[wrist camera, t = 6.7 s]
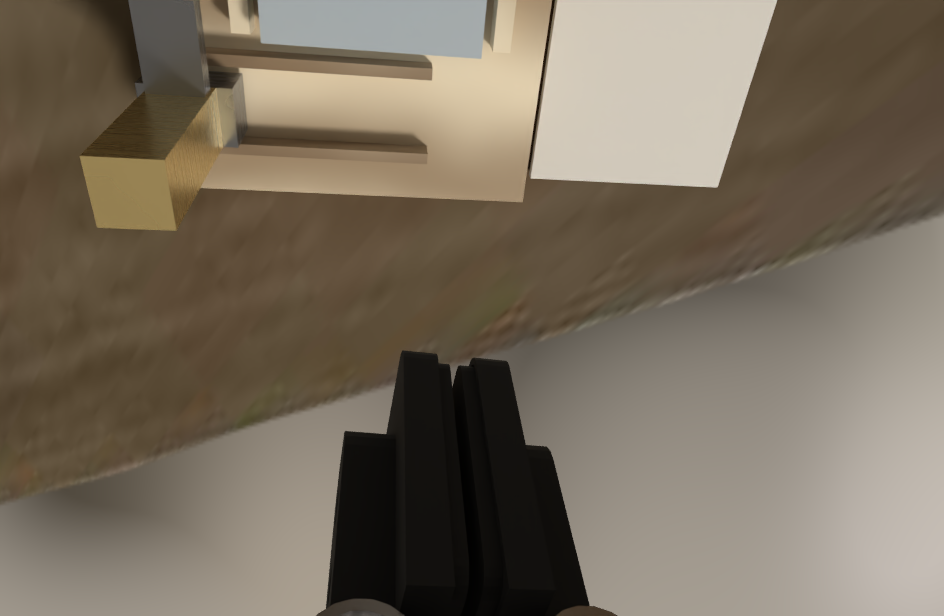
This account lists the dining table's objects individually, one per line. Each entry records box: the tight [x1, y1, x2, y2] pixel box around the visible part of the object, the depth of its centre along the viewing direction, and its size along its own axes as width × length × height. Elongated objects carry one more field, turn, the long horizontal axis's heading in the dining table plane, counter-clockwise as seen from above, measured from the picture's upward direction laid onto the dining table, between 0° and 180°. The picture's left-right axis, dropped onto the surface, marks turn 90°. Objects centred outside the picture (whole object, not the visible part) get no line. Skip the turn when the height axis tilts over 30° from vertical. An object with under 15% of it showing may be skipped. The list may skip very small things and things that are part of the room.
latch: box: [80, 0, 248, 231], centre depth 20 cm, size 5×3×8 cm, turn 175°
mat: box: [529, 0, 777, 187], centre depth 29 cm, size 11×9×1 cm
